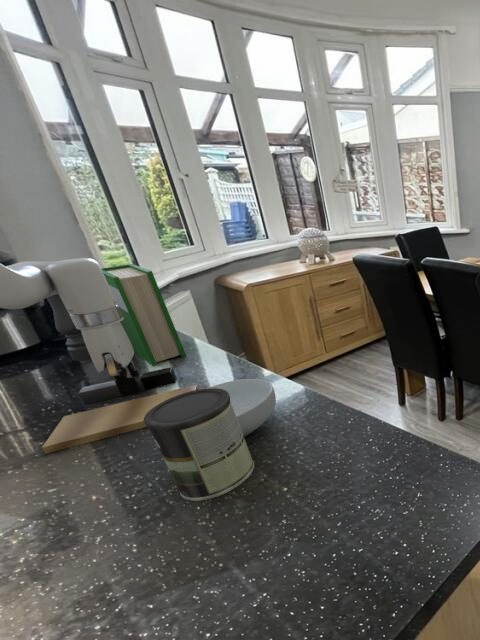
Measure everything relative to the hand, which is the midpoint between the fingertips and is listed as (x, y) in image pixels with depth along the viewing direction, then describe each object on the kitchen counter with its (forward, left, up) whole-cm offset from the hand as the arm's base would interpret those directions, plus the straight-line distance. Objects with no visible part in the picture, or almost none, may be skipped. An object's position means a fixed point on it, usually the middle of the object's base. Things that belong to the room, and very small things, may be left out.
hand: (133, 389), depth 92 cm
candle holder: (-15, +34, 0) cm, 37 cm away
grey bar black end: (0, 0, 0) cm, 0 cm away
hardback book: (+2, +23, 0) cm, 23 cm away
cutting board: (+2, -15, 0) cm, 15 cm away
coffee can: (+18, -47, 0) cm, 50 cm away
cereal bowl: (+20, -33, 0) cm, 39 cm away
